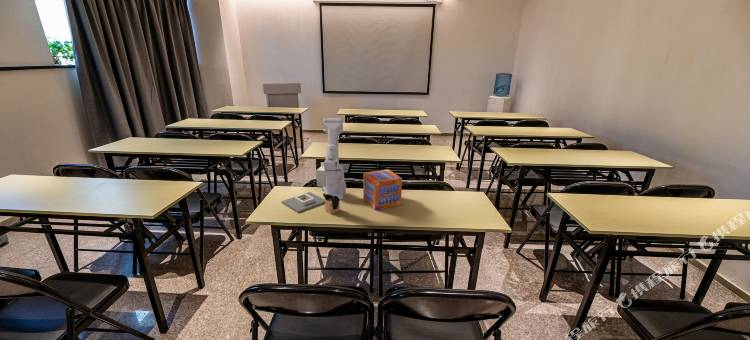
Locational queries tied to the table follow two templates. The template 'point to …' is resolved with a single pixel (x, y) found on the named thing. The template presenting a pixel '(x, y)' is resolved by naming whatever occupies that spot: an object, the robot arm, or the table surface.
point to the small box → (321, 177)
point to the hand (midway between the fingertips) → (332, 207)
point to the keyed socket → (303, 202)
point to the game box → (382, 189)
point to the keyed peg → (330, 207)
